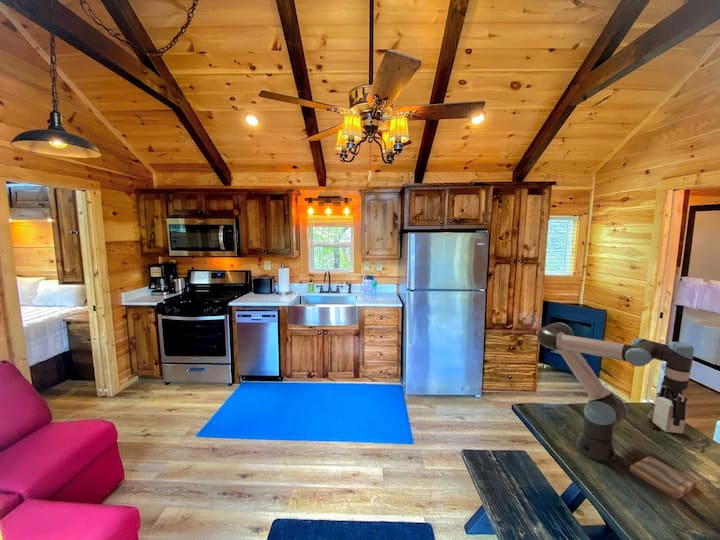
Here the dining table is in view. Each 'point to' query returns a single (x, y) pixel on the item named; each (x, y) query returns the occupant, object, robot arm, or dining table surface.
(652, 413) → the rock
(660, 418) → the supplement box
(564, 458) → the dining table surface
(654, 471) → the plinth
